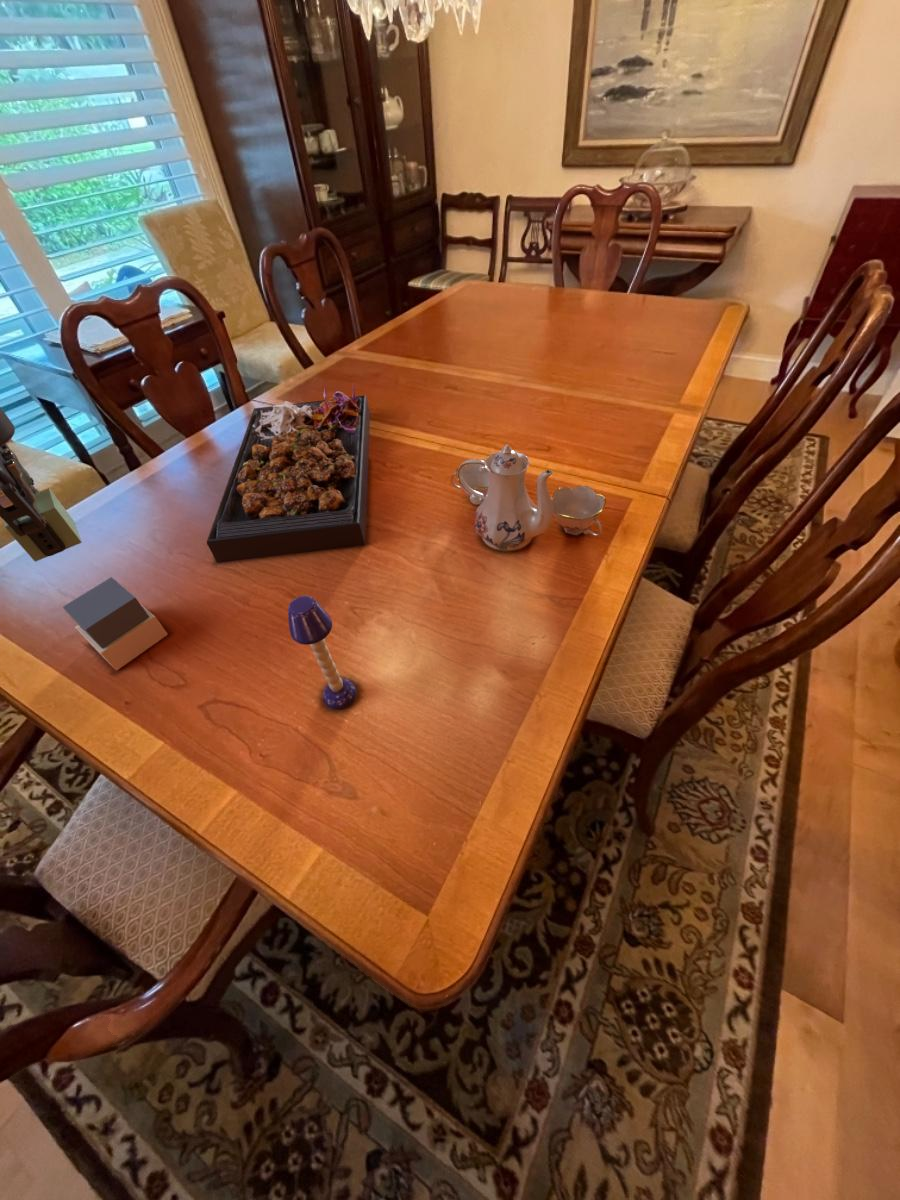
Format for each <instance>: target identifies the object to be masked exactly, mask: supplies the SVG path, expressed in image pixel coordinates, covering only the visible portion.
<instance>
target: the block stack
mask: <svg viewBox="0 0 900 1200" xmlns="http://www.w3.org/2000/svg"><path fill="white" fill-rule="evenodd" d="M62 609H63V610H64V611H65V612H66V613H67V614H68V615H69V617H70V618H72V619H73V621H74V622H75V623H76V624H77V625H75V626H74V628H75V629H76V630H77V632H78V633H79V634H80V635H81V636H82V637H83V638H84V639H85V640H86V642H87V643H89V645H90V646H91V647H93V649H94V650H95V651H96V652H97V653H98V654H99V655H100V656H101V657H102V658H103V659H104V660H105V661H106V662H107V663H108V664H109V665H110V666H111V667H112V668H113V669H114V670H115V671H118V670H120V669H121V668H122V667H124V666H125V665H127V664H128V663H130V662H132V661H133V660H134V659H136V658H137V657H138V656H139V655H141V654H143V653H144V652H146V651H147V650H148V649H150V648H151V647H152V646H154V645H156V644H157V643H158V642H159V641H161V640H162V639H164V638H165V637H167V636H168V632H167V630H165V628H164V626H163V625H162V624H161V623H160V621H159V620H158V618H157V617H156V616H155V615H154V614H153V613H152V612H151V611H150V610H149V609H147V608H146V607H145V606H143V605H142V604H141V603H140V601H139V600H138V598H137V597H136V596H135V595H133V594H132V593H131V592H130V591H128V589H126V588H125V587H124V586H123V585H122V584H121V583H119V582H118V581H117V580H116V579H114V578H113V577H109V578H107V579H106V580H104V581H102V582H101V583H99V584H98V585H96V586H94V587H93V588H91V589H89V590H88V591H86V592H85V593H82V594H81V595H79V596H78V597H76V598H75V599H73V600H71V601H70V602H68V603H67V604H65V605H64V606H62Z"/></svg>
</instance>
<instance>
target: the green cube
mask: <svg viewBox="0 0 900 1200" xmlns="http://www.w3.org/2000/svg"><path fill="white" fill-rule="evenodd" d="M34 494H35V495H36V497H37V501H36V502H35V505H36V506H37V507H38V509H39V510H40V512H41V513H42V515H43V516H45V517H46V519H47V520H46V521H47V522H48V523H49V525H50V526H51V527H52V528H53V530H54V531H55V532H56V533H57V535H58V536H59V537H60V538H61V540H62V541H63V542H64V544H65V547H66V549H65V550H67V549H70V548H73V547H75V546H77V545H79V544H82V542H83V541H82V539H81V536H80V534H79V530H78V527H77V525H76V522H75V520H74V519H73V518H72V516H71V515H70V513H69V512H68V510H67V509H66V508H65V507H64V506H63V504H62V503H61V501H60V500H59V499H58V497H57V496H56V495H55V493H54V492H53V491H52V489H51V488H49V487H48V488H45V489H42V490H39V492H37V493H34ZM23 498H24V497H23ZM26 518H29V516H24V517H21V518H20V519H21V520H24V519H26ZM3 524H4V528H5V529H6V531H7V532H8V533H9V534H10V535H11V536H12V537H13V539H14V540H15V541H16V542H17V543H18V544H19V545H20V547H21V548H22V549H23V550H24V552H26V554H27V555H29V557H30V558H31V559H32V560H33V562H39V561H41V560H43V559H46V558H48V557H49V556H45V555H44V554H43V553H42V552H41V551H40V549H39V548H38V547H37V546H36V545H35V543H34V542H33V541H32V540H31V539H30V538H29V536H28V535H27V534H26V535H24V536H21V537H20V536H19V535H18V534H16V533H15V532H14V530H13V529H12V528H11V527H10V526H9V525H8V524H7V523H6V522H5V521H4V520H3Z"/></svg>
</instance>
